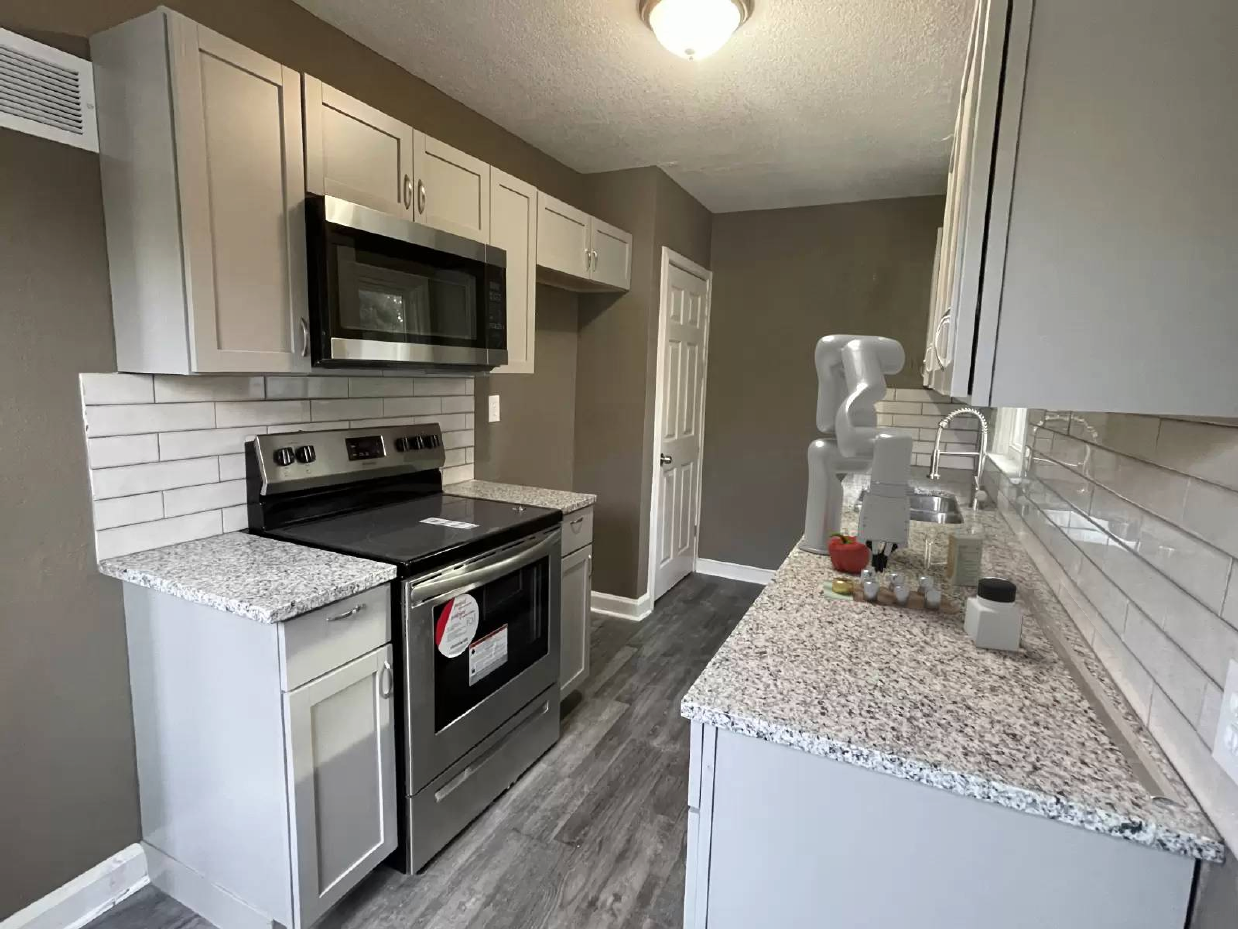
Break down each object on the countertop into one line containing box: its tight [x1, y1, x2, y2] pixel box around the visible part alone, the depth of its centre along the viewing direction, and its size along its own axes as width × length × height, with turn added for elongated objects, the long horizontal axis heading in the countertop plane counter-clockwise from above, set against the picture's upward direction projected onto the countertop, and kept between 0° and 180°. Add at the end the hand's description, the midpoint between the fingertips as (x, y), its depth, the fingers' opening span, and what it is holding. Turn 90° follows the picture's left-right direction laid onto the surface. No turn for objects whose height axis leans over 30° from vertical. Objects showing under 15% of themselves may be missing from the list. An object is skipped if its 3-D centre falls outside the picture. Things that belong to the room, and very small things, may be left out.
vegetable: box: [828, 532, 870, 574], centre depth 157 cm, size 11×10×10 cm
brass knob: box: [832, 577, 855, 595], centre depth 139 cm, size 4×4×2 cm
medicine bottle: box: [963, 576, 1024, 653], centre depth 115 cm, size 7×7×12 cm
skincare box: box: [944, 533, 984, 588], centre depth 149 cm, size 6×4×12 cm
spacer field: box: [859, 567, 942, 611], centre depth 137 cm, size 12×15×4 cm
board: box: [822, 579, 958, 616], centre depth 138 cm, size 13×26×1 cm, turn 72°
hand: (878, 570), depth 138 cm, fingers closed
